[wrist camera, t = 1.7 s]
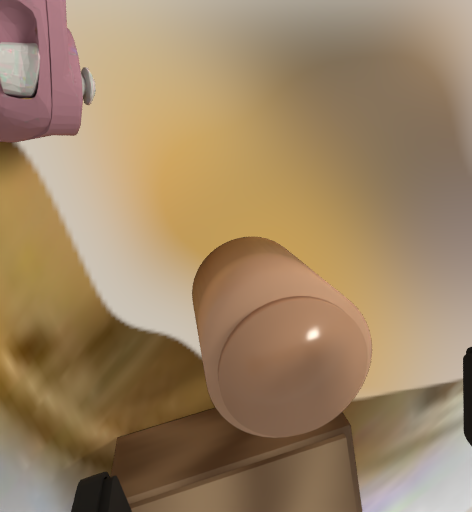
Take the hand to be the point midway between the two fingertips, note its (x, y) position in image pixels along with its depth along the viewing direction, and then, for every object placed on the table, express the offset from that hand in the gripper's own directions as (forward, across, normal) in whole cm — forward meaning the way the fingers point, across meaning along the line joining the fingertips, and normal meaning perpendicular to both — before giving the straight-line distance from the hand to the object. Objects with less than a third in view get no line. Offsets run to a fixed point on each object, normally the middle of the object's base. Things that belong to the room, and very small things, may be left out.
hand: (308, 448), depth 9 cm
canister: (+10, -1, 0) cm, 10 cm away
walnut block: (+10, +2, +12) cm, 16 cm away
